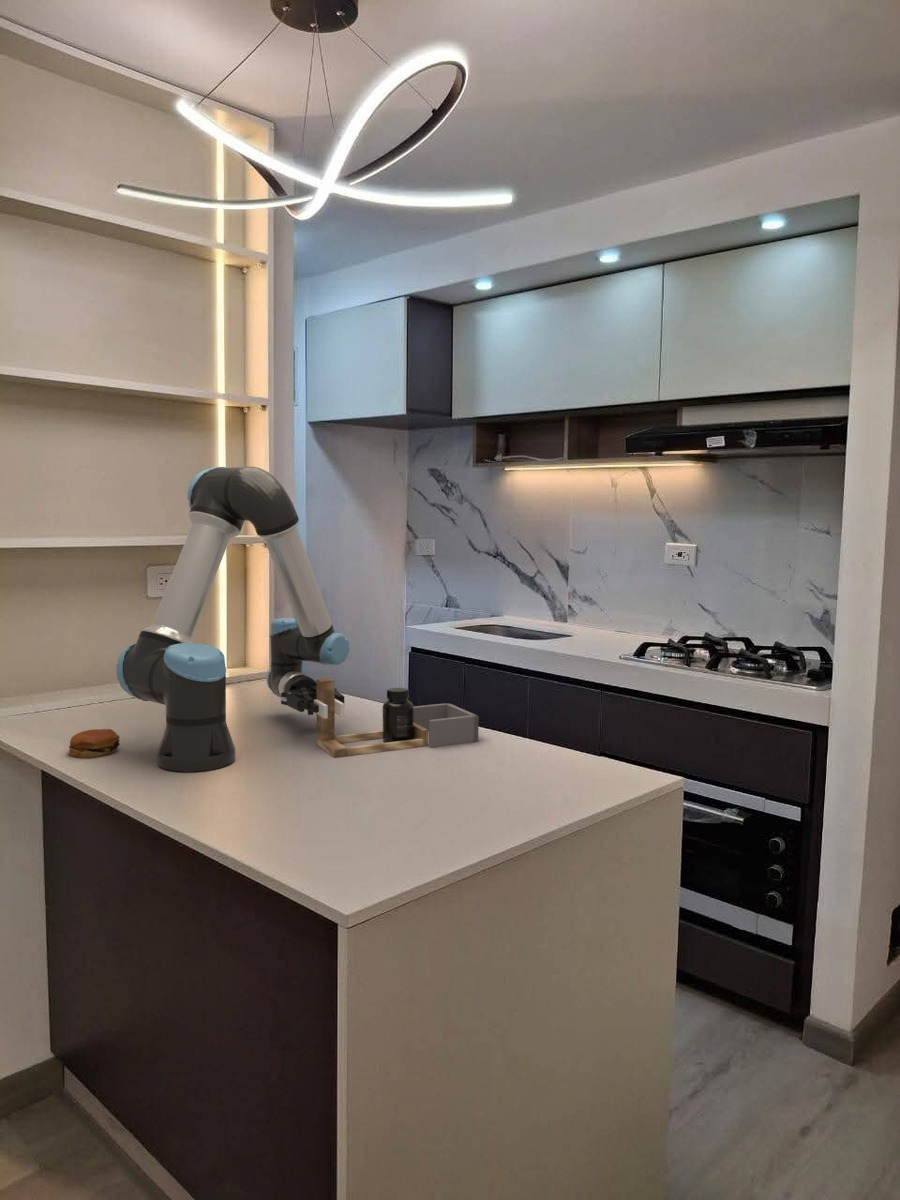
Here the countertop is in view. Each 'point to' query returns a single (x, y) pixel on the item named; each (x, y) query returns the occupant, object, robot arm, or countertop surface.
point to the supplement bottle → (397, 716)
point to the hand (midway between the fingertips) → (334, 711)
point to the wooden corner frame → (332, 742)
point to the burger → (93, 743)
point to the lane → (447, 724)
